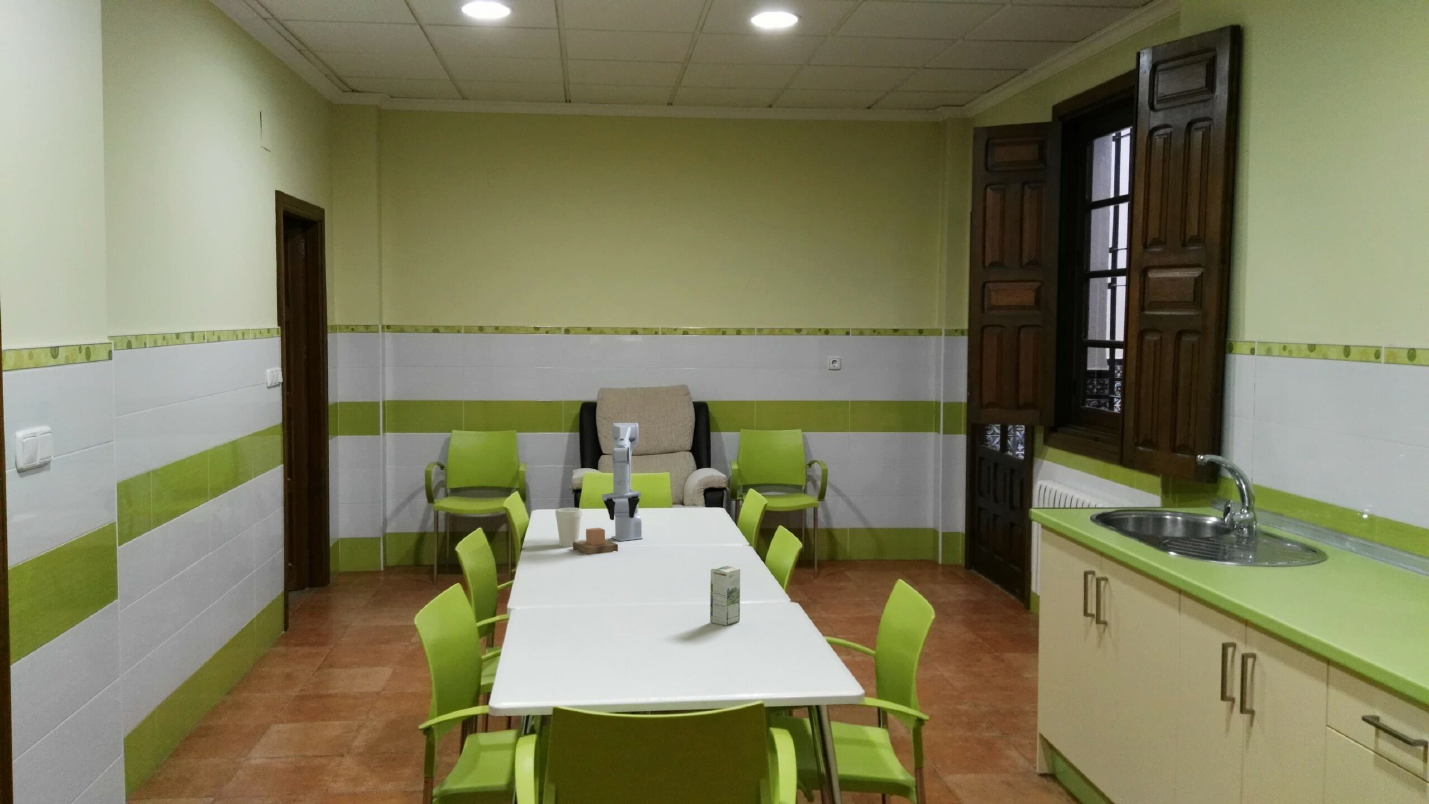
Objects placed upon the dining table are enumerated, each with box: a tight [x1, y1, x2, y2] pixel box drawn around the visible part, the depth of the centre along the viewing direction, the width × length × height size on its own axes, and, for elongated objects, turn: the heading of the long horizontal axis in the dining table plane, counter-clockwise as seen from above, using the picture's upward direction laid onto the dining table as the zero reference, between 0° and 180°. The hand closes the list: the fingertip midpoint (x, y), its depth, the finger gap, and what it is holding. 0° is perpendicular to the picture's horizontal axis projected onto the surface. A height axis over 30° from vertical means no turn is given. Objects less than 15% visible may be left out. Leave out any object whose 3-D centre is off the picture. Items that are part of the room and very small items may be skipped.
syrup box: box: [709, 565, 741, 626], centre depth 279 cm, size 6×6×14 cm
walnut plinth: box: [572, 539, 619, 556], centre depth 375 cm, size 12×12×3 cm
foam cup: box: [555, 507, 583, 548], centre depth 383 cm, size 10×9×13 cm
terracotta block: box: [585, 527, 606, 545], centre depth 375 cm, size 5×5×5 cm
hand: (621, 518), depth 379 cm, fingers open, 7 cm apart
